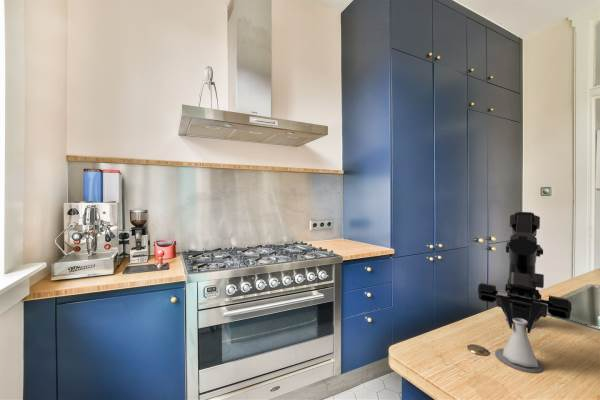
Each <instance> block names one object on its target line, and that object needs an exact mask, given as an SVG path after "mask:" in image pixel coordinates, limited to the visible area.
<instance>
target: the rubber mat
mask: <svg viewBox="0 0 600 400" xmlns="http://www.w3.org/2000/svg"><path fill="white" fill-rule="evenodd" d="M503 349H504V348H499V349H496V350H495V351H494V355H495V357H496V359H497V360H499V361H500V363H502V364H504V365H506V366H508V367H510V368H512V369H514V370H517V371H521V372H525V373H531V374H538V373H542V372H543V371H544V366H543V364H542V363H541V361H539V360H538V359H536V360H537V363H538V367H526V366H522V365H519V364H515V363H512V362H510V361H509V360H508V359H506V358H505V357H504V356H503Z"/></svg>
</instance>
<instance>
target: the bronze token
mask: <svg viewBox="0 0 600 400" xmlns="http://www.w3.org/2000/svg"><path fill="white" fill-rule="evenodd" d="M466 348H467V350H468V351H469V352H470V353H472V354H474V355H477V356H482V357H486V356H489V355H490V351H489V349H487V348H486V347H484V346H481V345H479V344H475V343H474V344H471V343H470V344H467V346H466Z"/></svg>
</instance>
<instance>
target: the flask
mask: <svg viewBox="0 0 600 400" xmlns="http://www.w3.org/2000/svg"><path fill="white" fill-rule="evenodd" d="M512 321H513V323H512V329H511V333H510V336H509V338H508V339H507V342H506V343H505V346H504V348H502V349H503V356H504V357H505V358H506V359H508V360H509V361H510V362H512V363H515V364H519V365H522V366H526V367H538V363H537V360H538V359H537V358H536V355H535V353H534V350H533V348H532V344H531V342H530V339H529V337H528V333H527V327H526V325H528V322H527V321H526V320H524V319H521V318H512Z"/></svg>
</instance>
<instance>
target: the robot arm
mask: <svg viewBox="0 0 600 400" xmlns="http://www.w3.org/2000/svg"><path fill="white" fill-rule="evenodd" d="M540 226H541V216H539V215H536V214H535V213H534V212H531V211H516V212H515V213H513V214H511V215H509V228H511V233H512V235H510V238H509V241H506V245H505V253H506V254H508V259H509V266H508V267H509V269H508V279H507V282H506V284H505V287H504V288H505V290H502V289H497V287H496V286H497V285H496V284H490V283H485V282H480V283H479V284H478V285H477V293H478V295H477V296H478V300H480V301H482V302H485V303H491V304H493V303H494V302H495V303H496V307H498V308H501V310H502V312H503V313H504V315H505V318H506V319H505V320H506V322H507V325H508V327H509V329H511V330H513V321H512V318H521V319H524V320H526V321H527V322H528V325H526V331H527V334H530V333H531V331H532V329H533V328H534V326H535V324H536V323H537V322H538V321H539V320H540V318H547V315H548V314H549V315H550V316H551V317H553V318H557V319H558V318H560V319H563V320H570V317H571V313H572V301H571V300H569V299H568V298H565V297H560V296H554V295H548V299H547V300H546V299H542V294H541V293H540V290H539V288H540V289H544V286H545V285H544V283H545V282H544V281H545V277H544V276H545V275H544V274H542V273H536V262H537V257H538V258H540V257H541V255H542V256H543V255H544V249H543V247H541V245H540V244H538V238H537V237H536V236H537V235H538V234H537V233H538V230H540V228H541V227H540ZM537 288H538V289H537Z"/></svg>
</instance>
